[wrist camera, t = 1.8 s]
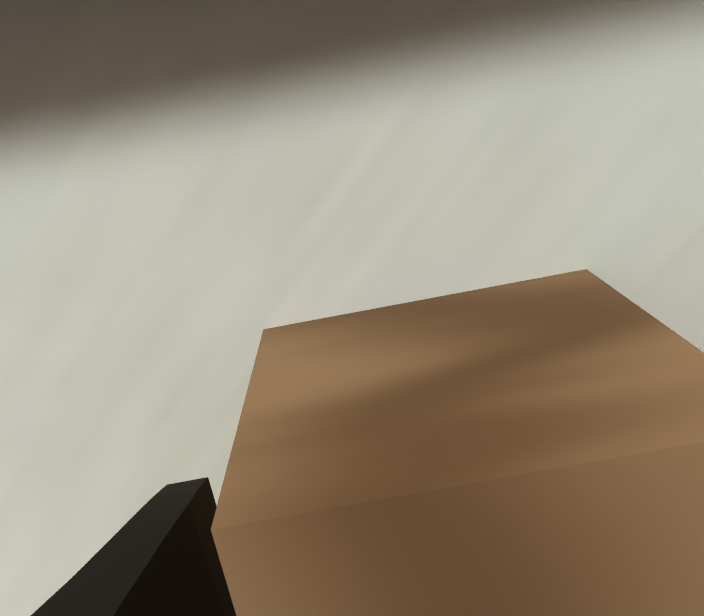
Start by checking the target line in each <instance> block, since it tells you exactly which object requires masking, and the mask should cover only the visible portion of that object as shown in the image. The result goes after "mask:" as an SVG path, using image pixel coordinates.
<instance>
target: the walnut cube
mask: <svg viewBox="0 0 704 616" xmlns="http://www.w3.org/2000/svg"><path fill="white" fill-rule="evenodd" d="M211 532H212V536H213V539H214V542H215V546H216V549H217V552H218V556H219V559H220V562H221V566H222V569H223V572H224V576H225V579H226V582H227V586H228V589H229V593H230V596H231V599H232V603H233V606H234V609H235V613H236V616H704V353H703V352H702V351H701V350H699V349H698V348H696V347H695V346H693V345H692V344H691V343H689V342H688V341H686V340H685V339H684V338H682V337H681V336H679V335H678V334H677V333H675V332H674V331H672V330H671V329H670V328H668V327H667V326H665V325H664V324H663V323H661V322H660V321H658V320H657V319H656V318H654V317H653V316H651V315H650V314H649V313H647V312H646V311H644V310H643V309H641V308H640V307H639V306H637V305H636V304H634V303H633V302H632V301H630V300H629V299H627V298H626V297H625V296H623V295H622V294H620V293H619V292H618V291H616V290H615V289H613V288H612V287H611V286H609V285H608V284H606V283H605V282H604V281H602V280H601V279H599V278H598V277H597V276H595V275H594V274H592V273H591V272H589V271H588V270H587V269H585V270H580V271H574V272H569V273H564V274H558V275H553V276H548V277H542V278H537V279H532V280H526V281H521V282H515V283H510V284H505V285H499V286H494V287H489V288H483V289H478V290H473V291H467V292H462V293H457V294H451V295H446V296H440V297H435V298H430V299H424V300H419V301H414V302H408V303H403V304H398V305H392V306H387V307H382V308H376V309H371V310H365V311H360V312H355V313H349V314H344V315H339V316H333V317H328V318H323V319H317V320H312V321H307V322H301V323H296V324H290V325H285V326H280V327H274V328H269V329H264V330H263V333H262V337H261V341H260V345H259V348H258V352H257V356H256V360H255V364H254V367H253V371H252V375H251V379H250V383H249V386H248V390H247V394H246V398H245V402H244V405H243V409H242V413H241V417H240V421H239V424H238V428H237V432H236V436H235V440H234V443H233V447H232V451H231V455H230V459H229V462H228V466H227V470H226V474H225V478H224V481H223V485H222V489H221V493H220V497H219V500H218V504H217V508H216V512H215V515H214V519H213V523H212V527H211Z"/></svg>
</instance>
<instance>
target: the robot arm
mask: <svg viewBox="0 0 704 616" xmlns="http://www.w3.org/2000/svg"><path fill="white" fill-rule="evenodd" d="M216 508H217V506H216V503H215V499H214V496H213V493H212V489H211V486H210V482H209V479H208V477H207V478H201V479H196V480H190V481H185V482H179V483H174V484H168V485H166V486H165V487H164V488H163V489H161V490H160V491H159V492H158V493H157V494H156V495H155V496H154V497H153V498H151V499H150V500H149V501H148V502H147V503H146V504H145V505H144V506H143V507H142V508H141V509H140V510H139V511H138V512H137V513H136V514H135V515H134V516H133V517H132V518H131V519H130V520H129V521H128V522H127V523H126V524H125V525H124V526H123V527H122V528H121V529H120V530H119V531H118V532H117V533H116V534H115V535H114V536H113V537H112V538H111V539H110V540H109V541H108V542H107V543H106V544H105V545H104V546H103V547H102V548H101V549H100V550H99V551H98V552H97V553H96V554H95V555H94V556H93V557H92V558H91V559H90V560H89V561H88V562H87V563H86V564H85V565H84V566H83V567H82V568H81V569H80V570H79V571H78V572H77V573H76V574H75V575H74V576H73V577H72V578H71V579H70V580H69V581H68V582H67V583H66V584H65V585H64V586H62V587H61V588H60V589H59V590H58V591H57V592H56V593H55V594H54V595H53V596H52V597H51V598H49V599H48V600H47V601H46V602H45V603H44V604H43V605H42V606H41V607H40V608H39V609H38V610H36V611H35V612H34V613H33V614H32V615H31V616H236V613H235V609H234V606H233V603H232V599H231V596H230V593H229V589H228V586H227V582H226V579H225V576H224V572H223V569H222V566H221V562H220V559H219V556H218V552H217V549H216V546H215V542H214V539H213V536H212V532H211V527H212V523H213V519H214V515H215V512H216Z"/></svg>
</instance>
